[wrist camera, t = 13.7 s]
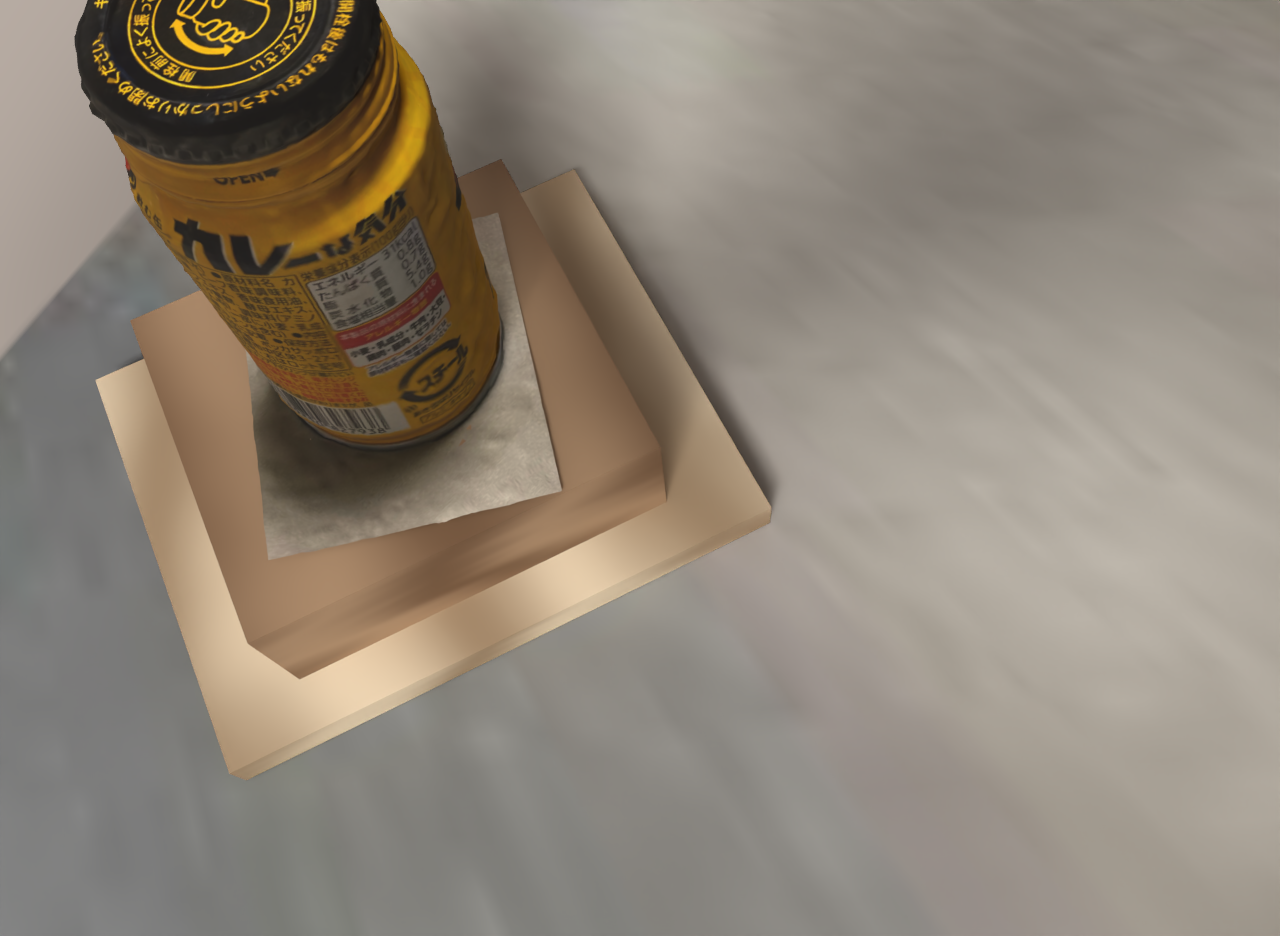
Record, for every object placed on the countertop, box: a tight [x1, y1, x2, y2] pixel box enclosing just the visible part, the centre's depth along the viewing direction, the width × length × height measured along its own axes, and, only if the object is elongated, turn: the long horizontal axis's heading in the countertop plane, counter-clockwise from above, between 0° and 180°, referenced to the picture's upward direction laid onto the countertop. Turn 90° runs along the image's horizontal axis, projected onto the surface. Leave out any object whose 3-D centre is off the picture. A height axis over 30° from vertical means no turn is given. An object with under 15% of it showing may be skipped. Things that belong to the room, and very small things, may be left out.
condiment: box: [75, 0, 562, 560], centre depth 25 cm, size 7×8×12 cm
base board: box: [96, 159, 771, 780], centre depth 33 cm, size 16×13×5 cm
